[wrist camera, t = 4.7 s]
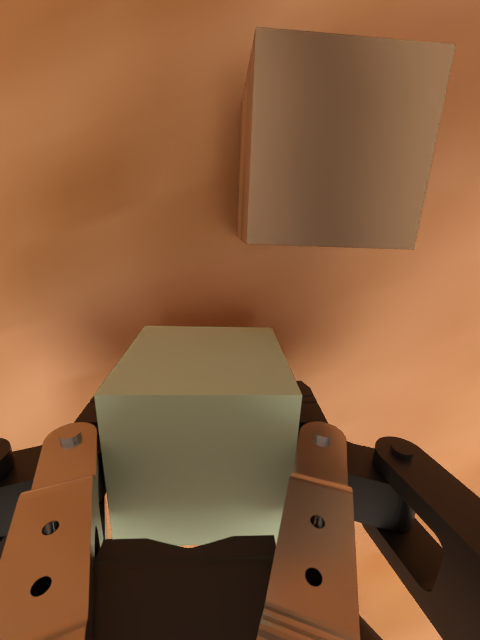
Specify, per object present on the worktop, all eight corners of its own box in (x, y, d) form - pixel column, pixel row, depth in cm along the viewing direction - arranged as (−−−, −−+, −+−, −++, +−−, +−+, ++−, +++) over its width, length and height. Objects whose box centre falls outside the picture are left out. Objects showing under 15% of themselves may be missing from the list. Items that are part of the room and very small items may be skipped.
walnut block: (364, 112, 12) (456, 44, 8) (347, 240, 14) (413, 249, 9) (241, 104, 12) (256, 26, 7) (237, 236, 14) (246, 243, 9)
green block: (271, 327, 12) (302, 395, 8) (264, 432, 14) (285, 542, 9) (144, 325, 12) (94, 394, 7) (151, 432, 14) (113, 547, 9)
